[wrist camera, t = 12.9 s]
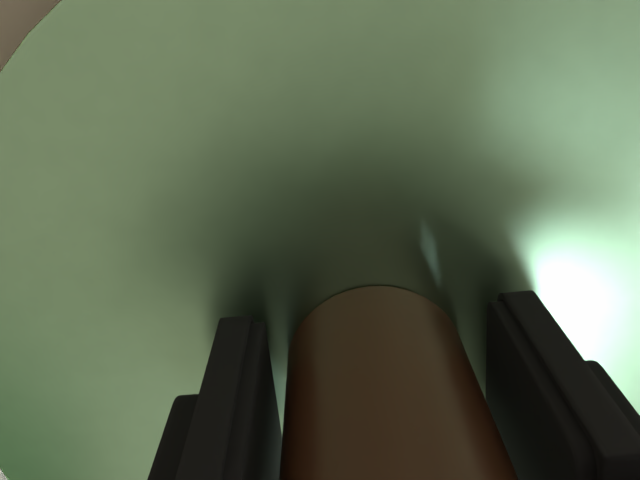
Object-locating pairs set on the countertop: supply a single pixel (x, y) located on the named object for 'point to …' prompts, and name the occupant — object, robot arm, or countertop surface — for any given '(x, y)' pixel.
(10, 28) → the countertop surface
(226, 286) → the pot lid
